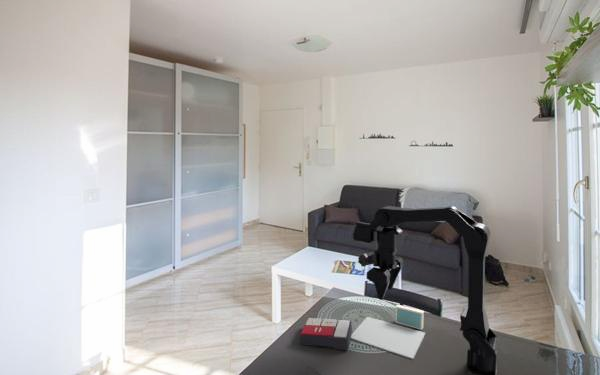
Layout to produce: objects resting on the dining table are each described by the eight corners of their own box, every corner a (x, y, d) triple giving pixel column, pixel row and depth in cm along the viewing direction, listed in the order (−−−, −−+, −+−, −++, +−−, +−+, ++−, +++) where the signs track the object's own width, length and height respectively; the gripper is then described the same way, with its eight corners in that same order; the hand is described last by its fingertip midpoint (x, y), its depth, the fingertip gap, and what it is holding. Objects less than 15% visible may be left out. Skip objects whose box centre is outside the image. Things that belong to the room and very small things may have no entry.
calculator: (307, 316, 110) (351, 318, 106) (308, 328, 110) (352, 331, 106) (298, 333, 99) (347, 336, 95) (299, 346, 99) (348, 350, 95)
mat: (425, 333, 105) (425, 332, 105) (413, 359, 92) (413, 358, 92) (367, 317, 116) (367, 316, 116) (349, 338, 103) (349, 337, 103)
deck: (423, 327, 109) (423, 310, 109) (422, 330, 108) (422, 313, 107) (396, 320, 114) (397, 304, 114) (395, 322, 113) (395, 306, 112)
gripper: (371, 237, 113) (371, 280, 115) (350, 249, 98) (350, 299, 99) (403, 241, 107) (403, 286, 109) (386, 255, 92) (385, 307, 93)
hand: (385, 294), depth 102 cm, fingers open, 9 cm apart
